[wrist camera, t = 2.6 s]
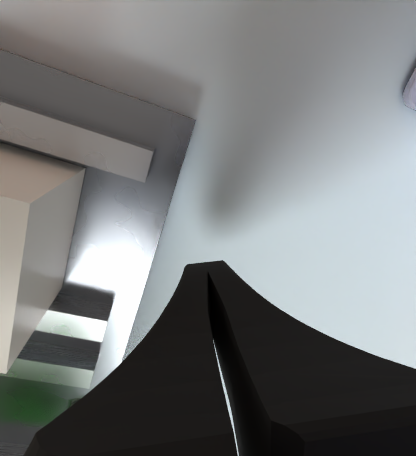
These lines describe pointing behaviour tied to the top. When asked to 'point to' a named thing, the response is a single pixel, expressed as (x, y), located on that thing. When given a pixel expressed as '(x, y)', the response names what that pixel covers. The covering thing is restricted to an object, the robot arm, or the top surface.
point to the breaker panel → (87, 231)
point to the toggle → (32, 240)
